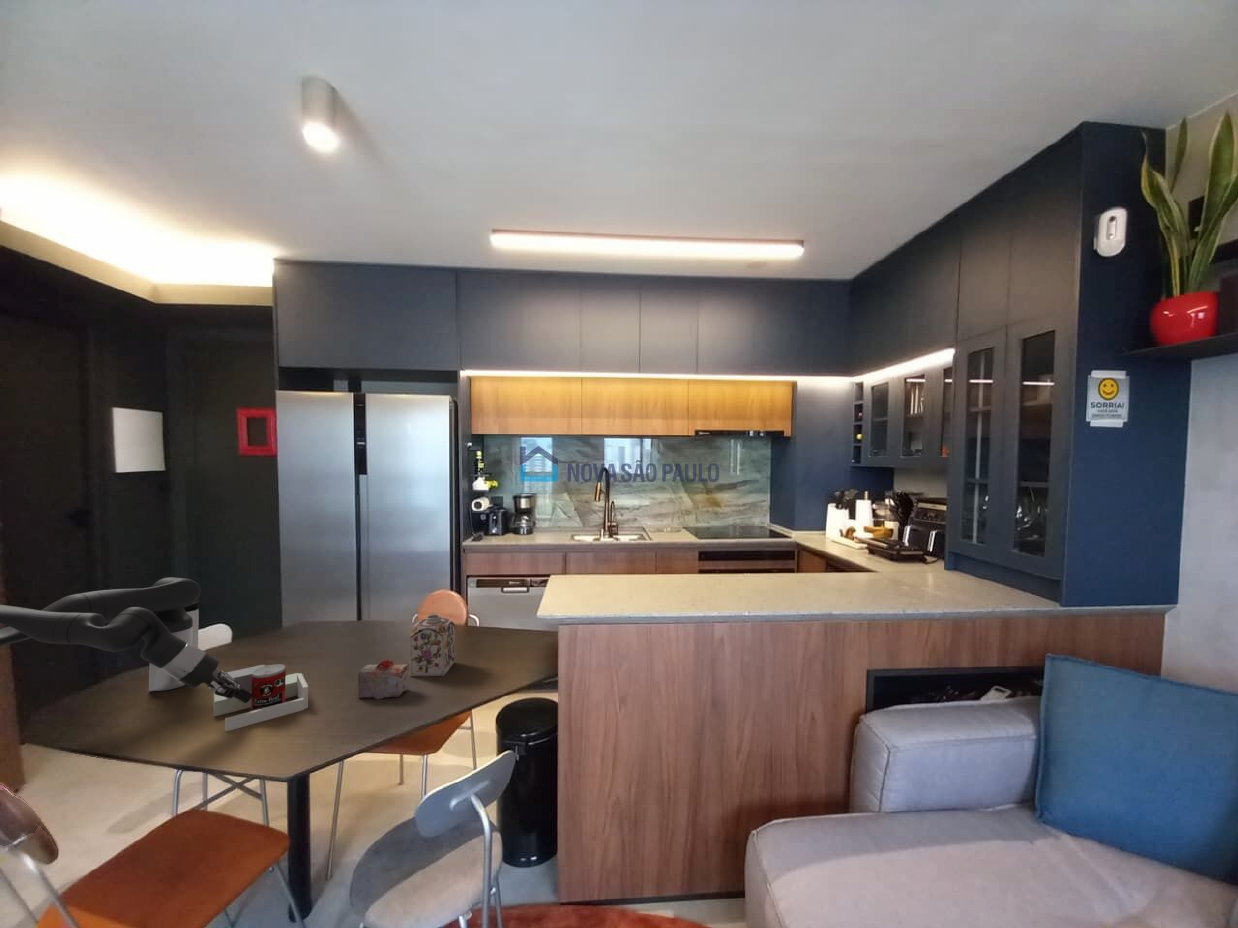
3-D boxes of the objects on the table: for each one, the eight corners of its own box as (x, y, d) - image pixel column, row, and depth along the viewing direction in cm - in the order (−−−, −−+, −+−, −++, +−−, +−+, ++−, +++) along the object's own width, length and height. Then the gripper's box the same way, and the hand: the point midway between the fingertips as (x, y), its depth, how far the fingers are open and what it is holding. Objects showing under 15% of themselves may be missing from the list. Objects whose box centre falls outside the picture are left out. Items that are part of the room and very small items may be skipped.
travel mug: (195, 651, 176) (196, 597, 176) (199, 656, 172) (200, 600, 172) (172, 656, 171) (173, 601, 172) (176, 661, 167) (177, 604, 167)
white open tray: (215, 734, 121) (215, 698, 121) (213, 706, 135) (214, 674, 135) (308, 708, 134) (308, 676, 134) (297, 685, 148) (298, 656, 148)
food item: (412, 687, 147) (412, 655, 147) (402, 700, 139) (402, 666, 139) (366, 689, 146) (367, 656, 146) (354, 701, 138) (354, 667, 138)
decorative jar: (456, 662, 167) (456, 610, 167) (445, 676, 155) (445, 621, 155) (421, 662, 166) (422, 611, 167) (407, 677, 155) (408, 621, 155)
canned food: (248, 718, 128) (249, 677, 129) (254, 706, 135) (254, 667, 136) (282, 711, 132) (283, 671, 132) (286, 699, 139) (287, 661, 139)
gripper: (177, 670, 125) (235, 702, 133) (174, 687, 115) (237, 721, 123) (204, 645, 129) (260, 678, 136) (204, 659, 119) (264, 694, 126)
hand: (249, 698), depth 130 cm, fingers closed
